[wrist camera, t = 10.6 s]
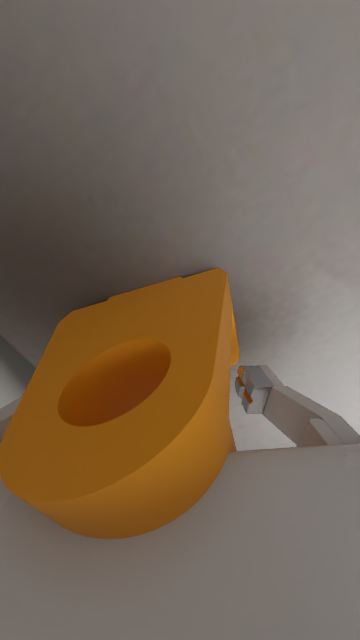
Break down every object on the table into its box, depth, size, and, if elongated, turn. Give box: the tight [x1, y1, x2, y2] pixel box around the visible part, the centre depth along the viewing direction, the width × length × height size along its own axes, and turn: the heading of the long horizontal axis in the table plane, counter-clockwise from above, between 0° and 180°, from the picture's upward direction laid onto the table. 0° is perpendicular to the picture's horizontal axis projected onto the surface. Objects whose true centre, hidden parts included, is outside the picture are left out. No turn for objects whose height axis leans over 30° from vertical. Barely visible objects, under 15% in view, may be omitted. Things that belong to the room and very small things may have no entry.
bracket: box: [0, 268, 240, 539], centre depth 10 cm, size 11×7×12 cm, turn 105°
